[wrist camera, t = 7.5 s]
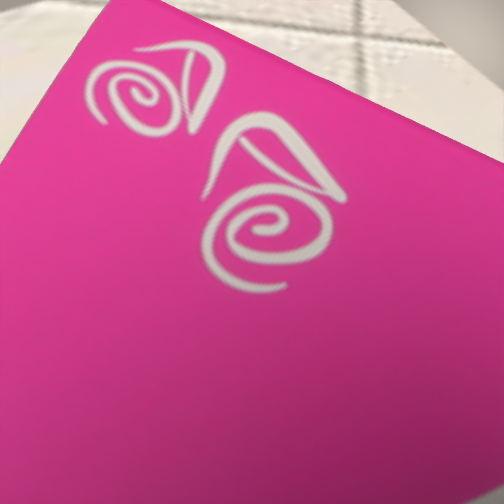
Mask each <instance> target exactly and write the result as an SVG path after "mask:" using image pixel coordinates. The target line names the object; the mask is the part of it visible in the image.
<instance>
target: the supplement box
mask: <svg viewBox="0 0 504 504" xmlns="http://www.w3.org/2000/svg"><path fill="white" fill-rule="evenodd" d="M0 504H504V163H502V162H500V161H497V160H495V159H493V158H491V157H489V156H487V155H485V154H483V153H480V152H478V151H476V150H474V149H472V148H470V147H468V146H466V145H464V144H461V143H459V142H457V141H455V140H453V139H451V138H449V137H447V136H445V135H442V134H440V133H438V132H436V131H434V130H432V129H430V128H428V127H425V126H423V125H421V124H419V123H417V122H415V121H413V120H411V119H409V118H406V117H404V116H402V115H400V114H398V113H396V112H394V111H391V110H389V109H387V108H385V107H383V106H381V105H379V104H376V103H374V102H372V101H370V100H368V99H366V98H364V97H361V96H359V95H357V94H355V93H353V92H351V91H349V90H347V89H345V88H343V87H341V86H339V85H337V84H335V83H333V82H331V81H329V80H326V79H324V78H322V77H319V76H317V75H314V74H312V73H310V72H308V71H306V70H304V69H302V68H300V67H298V66H296V65H294V64H292V63H290V62H288V61H286V60H284V59H282V58H280V57H278V56H276V55H274V54H272V53H270V52H268V51H266V50H263V49H261V48H259V47H257V46H255V45H253V44H250V43H248V42H246V41H244V40H242V39H240V38H238V37H236V36H234V35H232V34H230V33H228V32H226V31H224V30H222V29H220V28H218V27H215V26H213V25H211V24H209V23H207V22H205V21H203V20H200V19H198V18H196V17H194V16H192V15H190V14H188V13H185V12H183V11H181V10H179V9H177V8H175V7H173V6H171V5H169V4H167V3H165V2H163V1H161V0H110V1H109V2H108V3H107V4H106V6H105V7H104V8H103V10H102V11H101V13H100V14H99V15H98V17H97V18H96V19H95V21H94V22H93V23H92V25H91V26H90V28H89V30H88V31H87V33H86V34H85V36H84V37H83V38H82V40H81V41H80V42H79V43H78V45H77V47H76V48H75V50H74V52H73V53H72V55H71V56H70V57H69V59H68V60H67V62H66V63H65V64H64V66H63V67H62V69H61V70H60V72H59V73H58V75H57V76H56V78H55V79H54V81H53V82H52V84H51V85H50V87H49V88H48V90H47V92H46V93H45V95H44V96H43V98H42V99H41V101H40V102H39V104H38V105H37V107H36V108H35V110H34V111H33V113H32V115H31V116H30V118H29V119H28V121H27V122H26V124H25V126H24V127H23V129H22V130H21V132H20V134H19V135H18V137H17V138H16V140H15V142H14V143H13V145H12V146H11V148H10V149H9V151H8V153H7V154H6V156H5V157H4V159H3V161H2V162H1V164H0Z"/></svg>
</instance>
